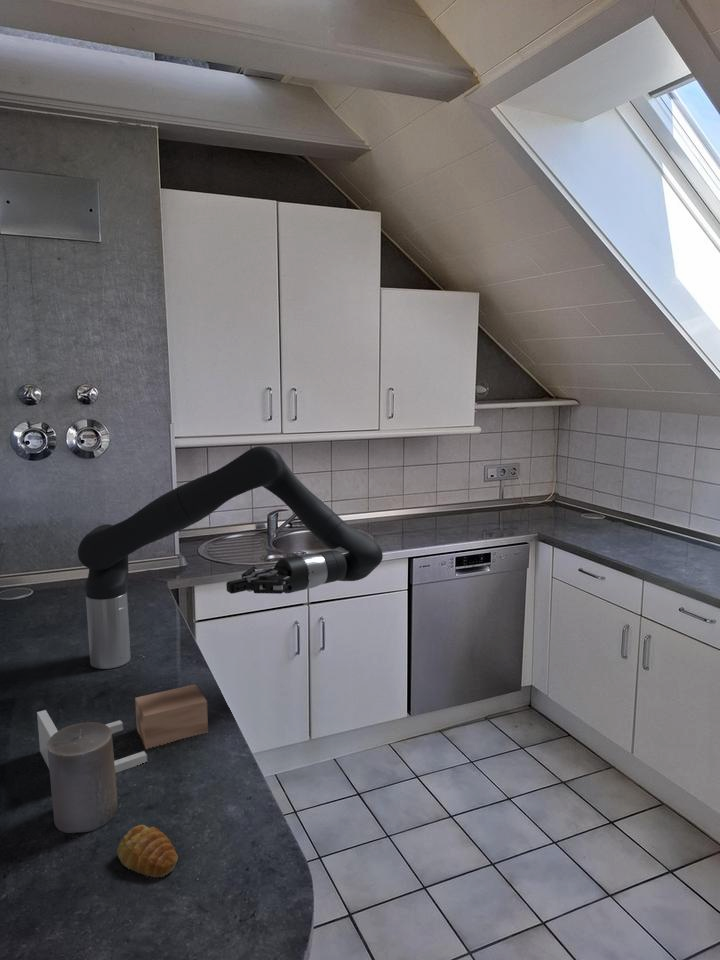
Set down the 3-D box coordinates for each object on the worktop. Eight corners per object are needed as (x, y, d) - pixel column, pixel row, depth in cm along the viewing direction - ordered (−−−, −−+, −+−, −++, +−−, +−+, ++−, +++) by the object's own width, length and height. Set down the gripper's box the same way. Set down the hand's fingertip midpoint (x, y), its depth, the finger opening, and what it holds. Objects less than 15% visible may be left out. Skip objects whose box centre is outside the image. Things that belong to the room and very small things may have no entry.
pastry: (190, 861, 103) (189, 839, 103) (153, 890, 98) (151, 866, 97) (148, 836, 109) (147, 814, 108) (111, 862, 103) (110, 839, 102)
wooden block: (136, 730, 139) (135, 697, 137) (196, 715, 144) (195, 684, 143) (146, 750, 132) (144, 716, 131) (208, 734, 138) (207, 701, 136)
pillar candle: (97, 788, 120) (91, 708, 117) (129, 811, 114) (123, 727, 111) (42, 817, 113) (33, 732, 110) (73, 844, 106) (65, 755, 104)
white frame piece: (40, 751, 131) (36, 712, 129) (120, 726, 139) (118, 689, 138) (60, 792, 119) (57, 749, 117) (147, 762, 128) (145, 721, 126)
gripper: (285, 548, 155) (213, 562, 145) (318, 563, 145) (242, 578, 135) (285, 581, 157) (214, 596, 147) (318, 597, 146) (243, 615, 136)
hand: (228, 587), depth 141 cm, fingers closed
